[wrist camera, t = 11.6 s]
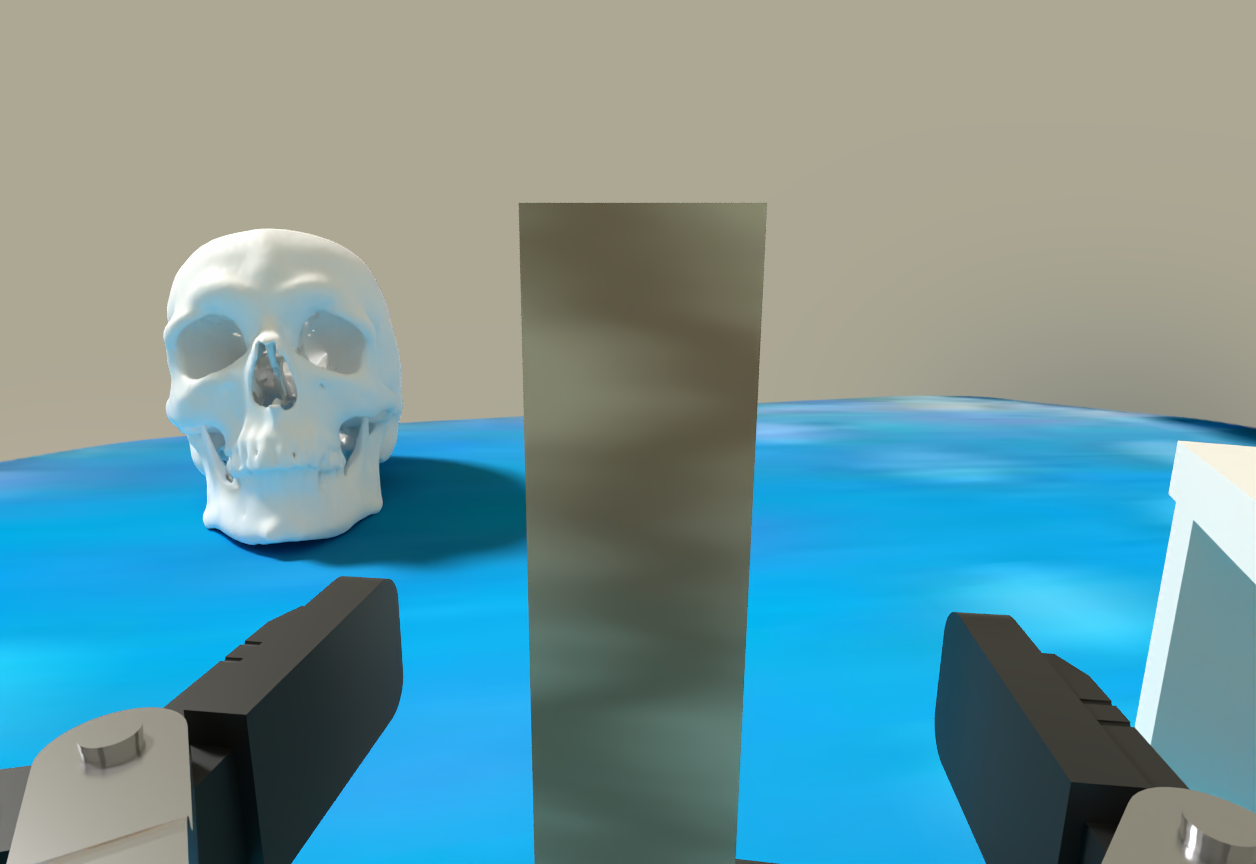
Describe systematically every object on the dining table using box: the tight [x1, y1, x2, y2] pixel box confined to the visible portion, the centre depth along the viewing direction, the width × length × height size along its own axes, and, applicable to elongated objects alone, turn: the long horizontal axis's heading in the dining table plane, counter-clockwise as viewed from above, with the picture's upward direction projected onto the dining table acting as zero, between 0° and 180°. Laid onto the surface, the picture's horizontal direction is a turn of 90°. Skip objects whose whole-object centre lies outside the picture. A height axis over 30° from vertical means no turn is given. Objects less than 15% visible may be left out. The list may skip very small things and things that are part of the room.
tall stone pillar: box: [519, 203, 777, 864], centre depth 13 cm, size 20×4×16 cm, turn 82°
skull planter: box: [163, 229, 403, 545], centre depth 48 cm, size 14×20×19 cm
